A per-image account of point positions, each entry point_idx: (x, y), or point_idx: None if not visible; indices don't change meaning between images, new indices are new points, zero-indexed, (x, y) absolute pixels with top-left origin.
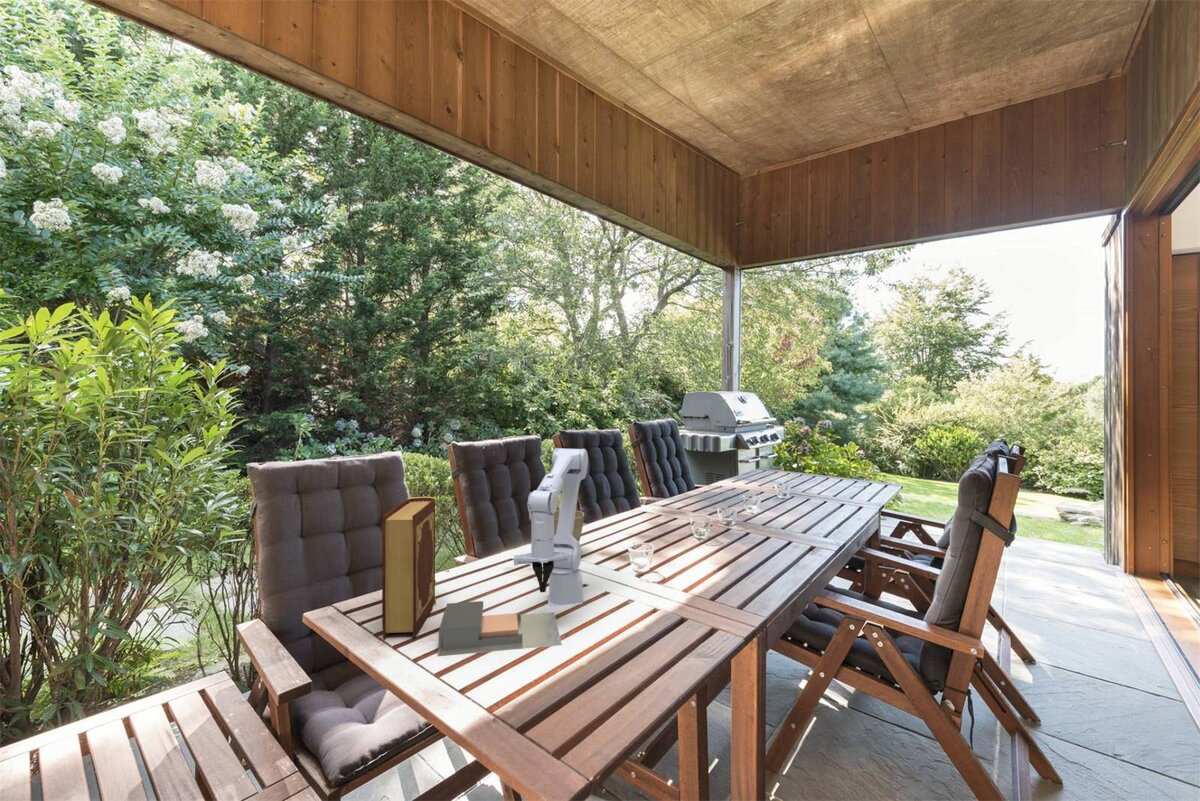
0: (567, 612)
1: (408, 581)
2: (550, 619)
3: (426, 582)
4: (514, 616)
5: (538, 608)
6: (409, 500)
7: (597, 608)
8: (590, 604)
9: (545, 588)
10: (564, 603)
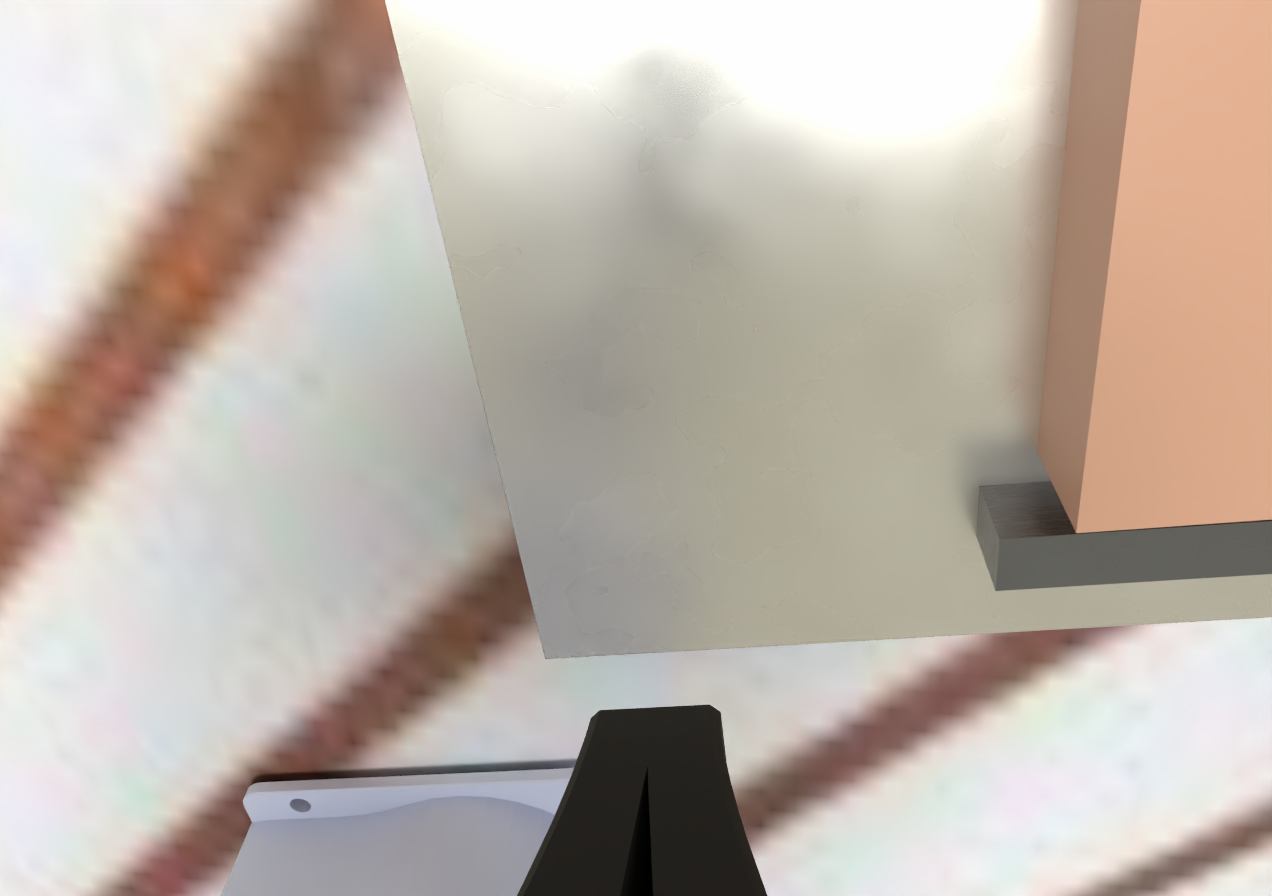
0: (395, 667)
1: None
2: (576, 497)
3: None
4: (1130, 443)
5: (738, 767)
6: None
7: (70, 717)
8: (171, 793)
9: (584, 771)
10: (440, 806)
